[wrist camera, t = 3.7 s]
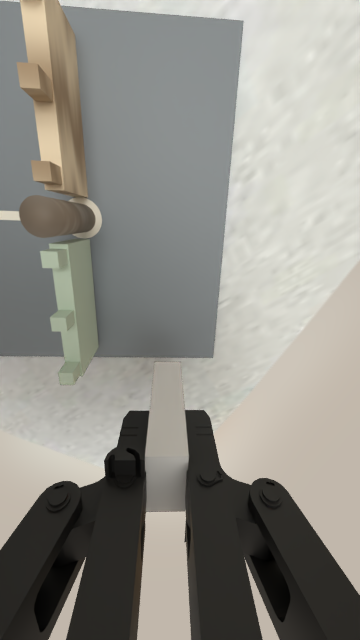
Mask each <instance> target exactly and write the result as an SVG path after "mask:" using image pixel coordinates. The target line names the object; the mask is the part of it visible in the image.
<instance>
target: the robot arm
mask: <svg viewBox="0 0 360 640" xmlns="http://www.w3.org/2000/svg"><path fill="white" fill-rule="evenodd" d="M104 464H105V477H104V478H102V479H101V480H100V481H98V482H96V483H93V484H90V485H87V486H84V487H81V488H79V487H78V485H77V484H75V483H73V482H71V481H62V482H59V483H55V484H53V485H52V486H50V487H49V488H47V489H46V490H45V491H44V492H43V493H42V494H41V495H40V496H39V498H38V499H37V500H36V502H35V503H34V505H33V506H32V507H31V509H30V510H29V511H28V513H27V514H26V516H25V517H24V518H23V520H22V521H21V522H20V524H19V525H18V527H17V528H16V529H15V531H14V532H13V533H12V535H11V536H10V538H9V539H8V541H7V542H6V543H5V544H4V546H3V547H2V549H1V550H0V640H48V639H49V637H50V635H51V632H52V630H53V628H54V626H55V624H56V621H57V619H58V617H59V615H60V613H61V610H62V608H63V606H64V604H65V601H66V599H67V597H68V595H69V593H70V591H71V588H72V586H73V584H74V582H75V579H76V577H77V575H78V572H79V571H80V569H81V566H82V564H83V562H84V560H85V557H86V561H85V565H84V569H83V573H82V578H81V581H80V585H79V589H78V594H77V598H76V602H75V606H74V610H73V614H72V618H71V622H70V626H69V630H68V634H67V638H66V640H137V630H138V617H139V605H140V590H141V577H142V565H143V551H144V538H145V514H146V512H169V511H171V512H172V511H185V510H186V528H185V542H186V547H187V566H188V586H189V605H190V624H191V640H262V635H261V631H260V626H259V622H258V617H257V613H256V608H255V604H254V599H253V595H252V590H251V586H250V581H249V577H248V573H247V568H246V563H245V560H246V562H247V564H248V567H249V569H250V571H251V573H252V576H253V578H254V581H255V583H256V585H257V588H258V590H259V592H260V594H261V597H262V599H263V602H264V604H265V606H266V609H267V611H268V613H269V616H270V618H271V620H272V623H273V625H274V627H275V630H276V632H277V634H278V637H279V639H280V640H360V595H359V594H358V593H357V591H356V590H355V588H354V587H353V585H352V584H351V582H350V581H349V580H348V578H347V577H346V575H345V574H344V572H343V571H342V569H341V568H340V567H339V565H338V564H337V562H336V561H335V559H334V558H333V556H332V555H331V553H330V552H329V551H328V549H327V548H326V546H325V545H324V543H323V542H322V540H321V539H320V538H319V536H318V535H317V533H316V532H315V530H314V529H313V527H312V526H311V525H310V523H309V522H308V520H307V519H306V517H305V516H304V515H303V513H302V512H301V510H300V509H299V507H298V506H297V504H296V503H295V502H294V500H293V499H292V497H291V496H290V494H289V493H288V491H287V490H286V489H285V488H284V487H283V486H282V485H281V484H279V483H278V482H276V481H274V480H271V479H268V478H259V479H257V480H255V481H254V482H253V483H252V485H249V484H246V483H242V482H239V481H237V480H234V479H232V478H231V477H229V476H228V475H227V474H226V473H225V472H224V471H223V469H222V468H221V466H220V463H219V458H218V454H217V449H216V444H215V439H214V436H213V430H212V425H211V421H210V417H209V416H208V415H207V413H206V412H205V411H204V410H185V406H184V394H183V383H182V371H181V362H155V364H154V373H153V383H152V393H151V402H150V411H129V412H128V414H127V415H126V416H125V417H124V419H123V423H122V428H121V432H120V437H119V440H118V445H117V447H116V448H114V449H112V450H111V451H110V452H109V453H108V454H107V456H106V458H105V460H104ZM244 557H245V559H244Z"/></svg>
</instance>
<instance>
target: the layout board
mask: <svg viewBox="0 0 360 640" xmlns="http://www.w3.org/2000/svg"><path fill="white" fill-rule="evenodd" d="M61 8H62V10H63V12H64V14H65V16H66V18H67V20H68V22H69V24H70V26H71V28H72V30H73V32H74V34H75V41H76V54H77V66H78V79H79V91H80V103H81V116H82V128H83V141H84V153H85V166H86V178H87V190H88V197H72V196H68V195H64V194H60V193H56V192H52V191H48V190H45V186H44V184H43V183H40V182H36V181H34V180H33V173H32V166H31V160H36V161H41V156H40V148H39V141H38V133H37V126H36V118H35V110H34V103H33V99H32V98H31V97H30V96H29V95H28V94H27V93H26V92H25V91H24V90H22V89H21V88H20V83H19V76H18V69H17V62H23V63H28V57H27V50H26V42H25V35H24V27H23V19H22V12H21V4H20V2H9V1H0V356H61V357H64V351H63V344H62V337H61V332H53V331H52V329H51V322H50V317H51V316H52V315H53V314H55V313H56V312H57V311H58V307H57V300H56V293H55V285H54V278H53V271H52V268H42V261H41V255H40V251H43V250H47V249H50V248H49V244H50V243H55V242H60V241H65V240H70V239H90V248H91V260H92V272H93V284H94V296H95V309H96V321H97V333H98V345H99V347H98V349H97V351H96V352H95V354H94V356H93V357H177V358H213V352H214V341H215V330H216V319H217V308H218V297H219V286H220V275H221V264H222V252H223V241H224V230H225V219H226V208H227V197H228V186H229V175H230V164H231V153H232V142H233V131H234V120H235V109H236V98H237V87H238V76H239V64H240V53H241V42H242V31H243V21H240V20H228V19H216V18H204V17H191V16H179V15H167V14H155V13H143V12H131V11H119V10H106V9H94V8H82V7H70V6H61ZM33 195H40V196H45V197H50V198H55V199H60V200H65V201H70V202H75V203H80V204H84V205H87V206H88V207H90V208H91V209H92V211H93V212H94V214H95V218H96V221H95V225H94V227H93V228H92V229H91V230H90V231H88V232H83V233H76V234H69V235H62V236H55V237H48V238H39V237H36V236H34V235H32V234H30V233H29V232H28V231H27V230H26V229H25V228H24V226H23V225H22V223H21V221H20V217H19V208H20V205H21V203H22V202H23V201H24V199H26V198H27V197H29V196H33Z"/></svg>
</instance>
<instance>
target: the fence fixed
mask: <svg viewBox="0 0 360 640" xmlns="http://www.w3.org/2000/svg"><path fill="white" fill-rule="evenodd" d="M20 4H21V12H22V19H23V27H24V35H25V42H26V50H27V57H28V63H23V62H17V69H18V76H19V83H20V88H21V89H22V90H24V91H25V92H26V93H27V94H28V95H29V96H30V97H31V98H32V99H33V103H34V110H35V118H36V126H37V133H38V141H39V148H40V156H41V161H36V160H31V166H32V173H33V180H34V181H36V182H40V183H43V184H44V186H45V190H48V191H52V192H56V193H60V194H64V195H68V196H72V197H88V190H87V178H86V166H85V153H84V141H83V128H82V116H81V103H80V91H79V79H78V66H77V54H76V41H75V34H74V32H73V30H72V28H71V26H70V24H69V22H68V20H67V18H66V16H65V14H64V12H63V10H62V8H61V6H60V3H59V1H58V0H20ZM19 217H20V221H21V223H22V225H23V226H24V228H25V229H26V230H27V231H28V232H29V233H30V234H32V235H34V236H36V237H39V238H48V237H55V236H62V235H69V234H76V233H83V232H88V231H90V230H91V229H92V228H93V227H94V225H95V221H96V218H95V214H94V212H93V211H92V209H91V208H90V207H88V206H87V205H84V204H80V203H75V202H70V201H65V200H60V199H55V198H50V197H45V196H40V195H33V196H29V197H27V198H26V199H24V201H23V202H22V203H21V205H20V208H19Z"/></svg>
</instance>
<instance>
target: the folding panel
mask: <svg viewBox="0 0 360 640" xmlns="http://www.w3.org/2000/svg"><path fill="white" fill-rule="evenodd" d="M49 248H50V249H47V250H43V251H40V255H41V261H42V268H52V271H53V278H54V285H55V293H56V300H57V307H58V311H57V312H56V313H55V314H53V315H52V316H51V317H50V322H51V329H52V331H53V332H61V337H62V344H63V351H64V359H65V364H64V365H63V367H62V368H61V370H60V371H59V372H58V375H59V382H60V385H74V384H75V382H76V381H77V379H78V377H79V376H83V374H84V373H85V371H86V369H87V367H88V365H89V363H90V362H91V360H92V358H93V356H94V354H95V352H96V351H97V349H98V347H99V345H98V333H97V321H96V309H95V296H94V284H93V272H92V260H91V248H90V239H70V240H65V241H60V242H55V243H50V244H49Z"/></svg>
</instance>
